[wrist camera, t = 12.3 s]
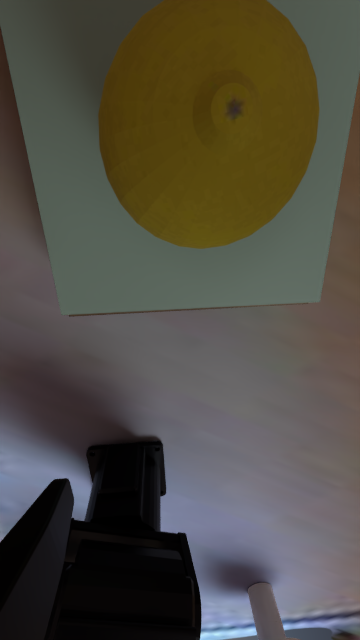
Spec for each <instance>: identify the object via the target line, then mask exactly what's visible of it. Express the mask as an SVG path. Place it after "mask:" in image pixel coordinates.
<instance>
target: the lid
mask: <svg viewBox="0 0 360 640" xmlns="http://www.w3.org/2000/svg"><path fill="white" fill-rule="evenodd" d="M162 1H164V0H0V27H1V31H2V36H3V41H4V45H5V50H6V55H7V60H8V64H9V69H10V74H11V79H12V83H13V88H14V93H15V98H16V102H17V107H18V112H19V116H20V121H21V126H22V131H23V135H24V140H25V145H26V150H27V154H28V159H29V164H30V168H31V173H32V178H33V183H34V187H35V192H36V197H37V202H38V206H39V211H40V216H41V220H42V225H43V230H44V235H45V239H46V244H47V249H48V254H49V258H50V263H51V268H52V272H53V277H54V282H55V287H56V291H57V296H58V301H59V306H60V310H61V315H72V314H92V313H111V312H131V311H151V310H171V309H190V308H210V307H230V306H250V305H269V304H289V303H309V302H320V297H321V291H322V285H323V280H324V274H325V268H326V262H327V257H328V251H329V245H330V239H331V234H332V228H333V222H334V216H335V211H336V205H337V199H338V193H339V188H340V182H341V176H342V170H343V165H344V159H345V153H346V147H347V142H348V136H349V130H350V124H351V119H352V113H353V107H354V101H355V96H356V90H357V84H358V78H359V72H360V0H267V1H268V2H269V3H270V4H272V5H273V6H274V7H275V8H276V9H277V10H279V11H280V12H281V13H282V14H283V15H284V16H286V17H287V18H288V19H289V21H290V22H291V24H292V25H293V27H294V28H295V30H296V32H297V33H298V35H299V36H300V38H301V39H302V41H303V42H304V44H305V45H306V48H307V51H308V54H309V57H310V60H311V63H312V66H313V69H314V72H315V75H316V79H317V89H318V98H319V108H320V110H319V120H318V129H317V139H316V143H315V146H314V149H313V153H312V156H311V159H310V162H309V165H308V168H307V171H306V173H305V175H304V177H303V178H302V180H301V182H300V184H299V186H298V187H297V189H296V191H295V193H294V194H293V196H292V198H291V199H290V200H289V201H288V202H287V204H286V205H285V206H284V207H283V208H282V209H281V210H280V212H279V213H278V214H277V215H276V216H275V217H274V218H273V219H272V220H271V221H270V222H268V223H267V224H266V225H264V226H263V227H261V228H260V229H259V230H257V231H256V232H254V233H253V234H252V235H250V236H248V237H246V238H243V239H241V240H238V241H236V242H233V243H231V244H228V245H226V246H219V247H212V248H205V249H197V248H189V247H180V246H177V245H174V244H172V243H169V242H167V241H164V240H162V239H159V238H157V237H155V236H154V235H152V234H151V233H150V232H148V231H147V230H145V229H144V228H143V227H141V226H140V225H138V224H137V223H136V222H135V221H134V219H133V218H132V217H131V216H130V215H129V213H128V212H127V211H126V210H125V209H124V208H123V206H122V205H121V204H120V202H119V200H118V198H117V196H116V194H115V193H114V191H113V189H112V187H111V185H110V183H109V181H108V179H107V175H106V172H105V168H104V164H103V160H102V156H101V153H100V146H99V121H98V114H99V108H100V103H101V97H102V92H103V87H104V82H105V78H106V75H107V73H108V71H109V68H110V66H111V64H112V62H113V59H114V57H115V55H116V52H117V50H118V48H119V46H120V44H121V42H122V41H123V40H124V39H125V37H126V36H127V35H128V33H129V32H130V31H131V30H132V28H133V27H134V26H135V24H136V23H137V22H138V21H139V19H140V18H141V17H142V16H143V15H144V14H145V13H147V12H148V11H150V10H151V9H152V8H154V7H155V6H157V5H158V4H159V3H161V2H162Z"/></svg>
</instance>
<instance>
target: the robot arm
mask: <svg viewBox="0 0 360 640" xmlns="http://www.w3.org/2000/svg"><path fill="white" fill-rule="evenodd" d="M156 447H158V448H156ZM92 452H94V453H92ZM86 455H87V460H88V464H89V469H90V474H91V478H92V483H93V486H92V490H91V494H90V499H89V503H88V508H87V512H86V516H85V521H78V520H74V518H71V517H72V511H73V505H74V497H73V493H72V489H71V485H70V482H69V480H68V479H67V478H64V479H55V480H53V481H52V482H51V483H50V484H49V485H48V486H47V488H46V489H45V490H44V491H43V492H42V494H41V495H40V496H39V497H38V498H37V499H36V501H35V502H34V503H33V504H32V505H31V507H30V508H29V509H28V510H27V511H26V513H25V514H24V515H23V516H22V517H21V518H20V520H19V521H18V522H17V523H16V524H15V526H14V527H13V528H12V529H11V530H10V532H9V533H8V534H7V535H6V536H5V537H4V539H3V540H2V541H1V542H0V640H200V633H201V599H200V592H199V587H198V582H197V578H196V574H195V570H194V566H193V562H192V558H191V553H190V549H189V545H188V541H187V537H186V533H180V532H178V534H176V533H168V532H161V531H160V496H164V495H165V494H166V481H165V467H164V453H163V444H162V443H161V442H159V441H154V442H141V443H128V444H115V445H102V446H91V447H89V448H88V449H87V453H86Z"/></svg>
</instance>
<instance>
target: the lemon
mask: <svg viewBox="0 0 360 640" xmlns="http://www.w3.org/2000/svg"><path fill="white" fill-rule="evenodd" d="M319 110H320V108H319V98H318V89H317V79H316V75H315V72H314V69H313V66H312V63H311V60H310V57H309V54H308V51H307V48H306V45H305V44H304V42H303V41H302V39H301V38H300V36H299V35H298V33H297V32H296V30H295V28H294V27H293V25H292V24H291V22H290V21H289V19H288V18H287V17H286V16H284V15H283V14H282V13H281V12H280V11H279V10H277V9H276V8H275V7H274V6H273V5H272V4H270V3H269V2H268V1H267V0H164V1H162V2H161V3H159V4H158V5H157V6H155V7H154V8H152V9H151V10H150V11H148V12H147V13H145V14H144V15H143V16H142V17H141V18H140V19H139V21H138V22H137V23H136V24H135V26H134V27H133V28H132V30H131V31H130V32H129V33H128V35H127V36H126V37H125V39H124V40H123V41H122V42H121V44H120V46H119V48H118V50H117V52H116V55H115V57H114V59H113V62H112V64H111V66H110V68H109V71H108V73H107V75H106V78H105V82H104V87H103V92H102V97H101V103H100V108H99V114H98V121H99V146H100V153H101V156H102V160H103V164H104V168H105V172H106V175H107V179H108V181H109V183H110V185H111V187H112V189H113V191H114V193H115V194H116V196H117V198H118V200H119V202H120V204H121V205H122V206H123V208H124V209H125V210H126V211H127V212H128V213H129V215H130V216H131V217H132V218H133V219H134V221H135V222H136V223H137V224H138V225H140V226H141V227H143V228H144V229H145V230H147V231H148V232H150V233H151V234H152V235H154V236H155V237H157V238H159V239H162V240H164V241H167V242H169V243H172V244H174V245H177V246H180V247H189V248H197V249H205V248H212V247H219V246H226V245H228V244H231V243H233V242H236V241H238V240H241V239H243V238H246V237H248V236H250V235H252V234H253V233H254V232H256V231H257V230H259V229H260V228H261V227H263V226H264V225H266V224H267V223H268V222H270V221H271V220H272V219H273V218H274V217H275V216H276V215H277V214H278V213H279V212H280V210H281V209H282V208H283V207H284V206H285V205H286V204H287V202H288V201H289V200H290V199H291V198H292V196H293V194H294V193H295V191H296V189H297V187H298V186H299V184H300V182H301V180H302V178H303V177H304V175H305V173H306V171H307V168H308V165H309V162H310V159H311V156H312V153H313V149H314V146H315V143H316V139H317V129H318V120H319Z"/></svg>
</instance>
